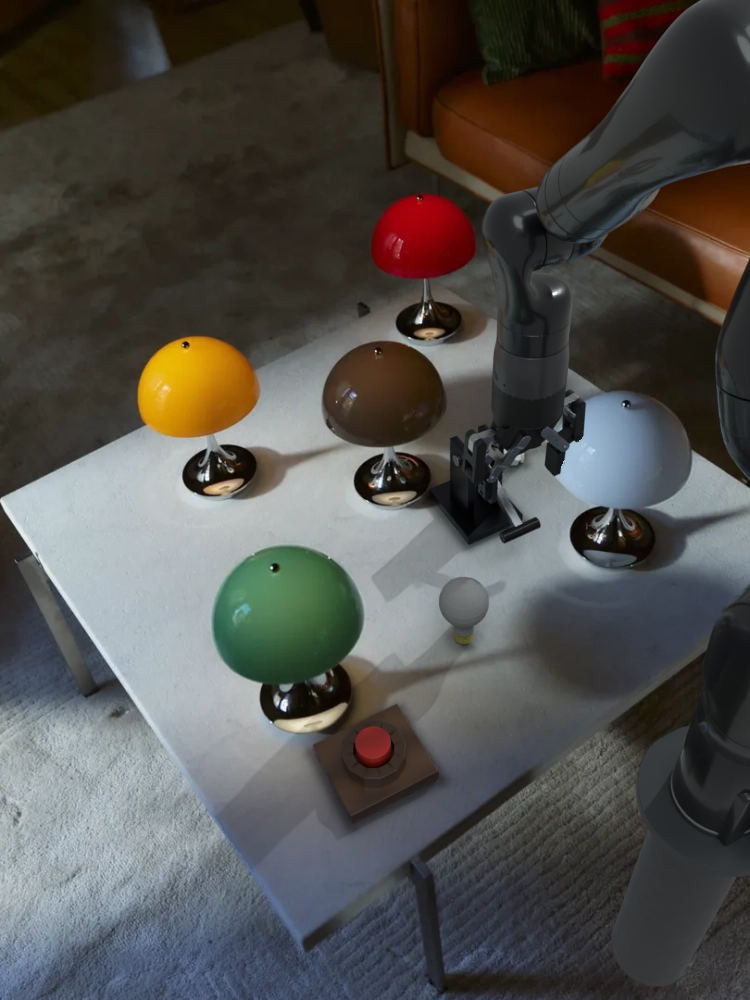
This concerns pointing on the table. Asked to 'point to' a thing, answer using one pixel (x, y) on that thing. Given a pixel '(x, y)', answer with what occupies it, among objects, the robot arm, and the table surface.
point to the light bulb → (463, 606)
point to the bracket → (468, 499)
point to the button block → (382, 784)
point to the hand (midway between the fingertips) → (521, 484)
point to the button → (373, 746)
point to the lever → (513, 519)
